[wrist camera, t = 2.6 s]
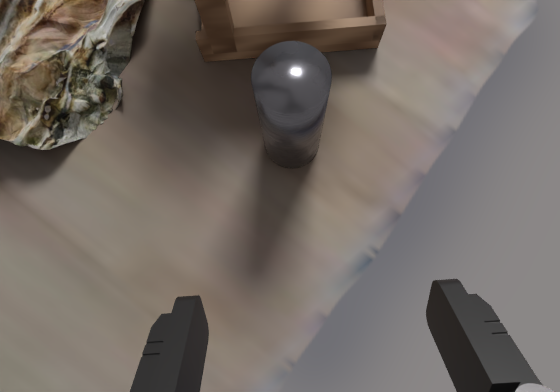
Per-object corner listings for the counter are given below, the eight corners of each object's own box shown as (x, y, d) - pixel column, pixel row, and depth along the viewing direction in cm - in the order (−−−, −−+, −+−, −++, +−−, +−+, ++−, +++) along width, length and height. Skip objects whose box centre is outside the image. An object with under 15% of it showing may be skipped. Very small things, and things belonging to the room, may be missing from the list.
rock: (-21, 129, 34) (105, 180, 31) (-113, 103, 28) (34, 164, 24) (68, -91, 35) (200, -66, 32) (-1, -169, 28) (158, -148, 25)
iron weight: (266, 169, 29) (253, 116, 19) (263, 119, 30) (249, 44, 20) (321, 166, 29) (335, 110, 19) (316, 115, 30) (327, 37, 20)
